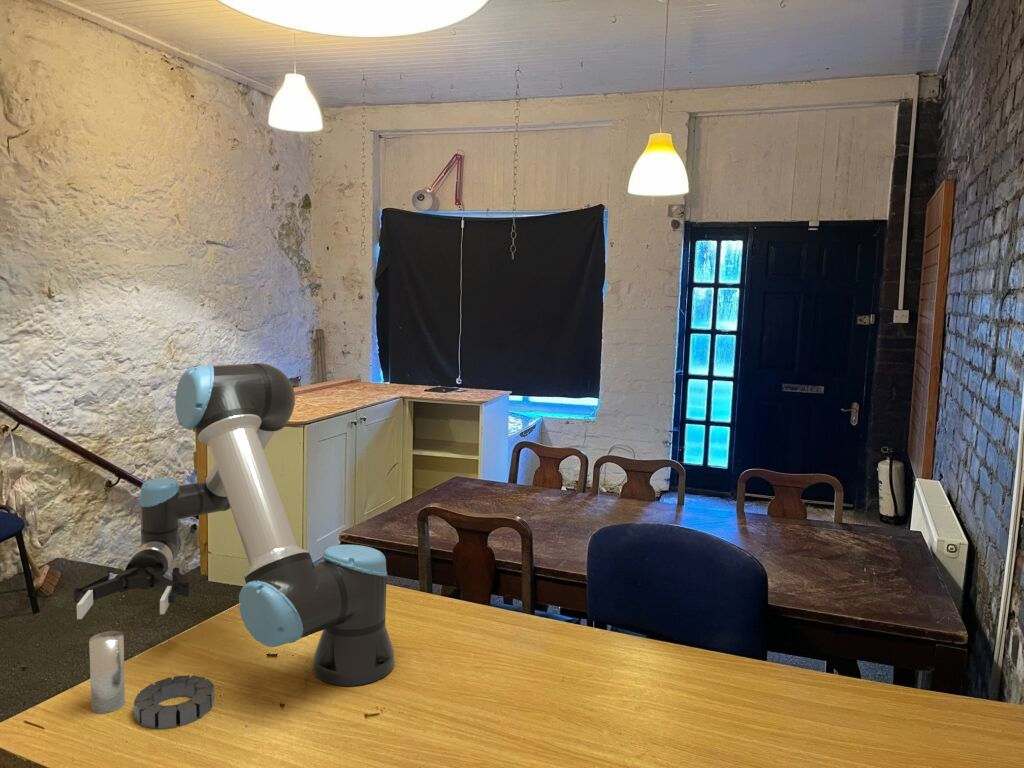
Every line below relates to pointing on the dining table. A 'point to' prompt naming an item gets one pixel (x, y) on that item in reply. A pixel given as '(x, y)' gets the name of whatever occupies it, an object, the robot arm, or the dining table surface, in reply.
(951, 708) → the dining table surface
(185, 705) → the ring
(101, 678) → the cylinder
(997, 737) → the dining table surface
